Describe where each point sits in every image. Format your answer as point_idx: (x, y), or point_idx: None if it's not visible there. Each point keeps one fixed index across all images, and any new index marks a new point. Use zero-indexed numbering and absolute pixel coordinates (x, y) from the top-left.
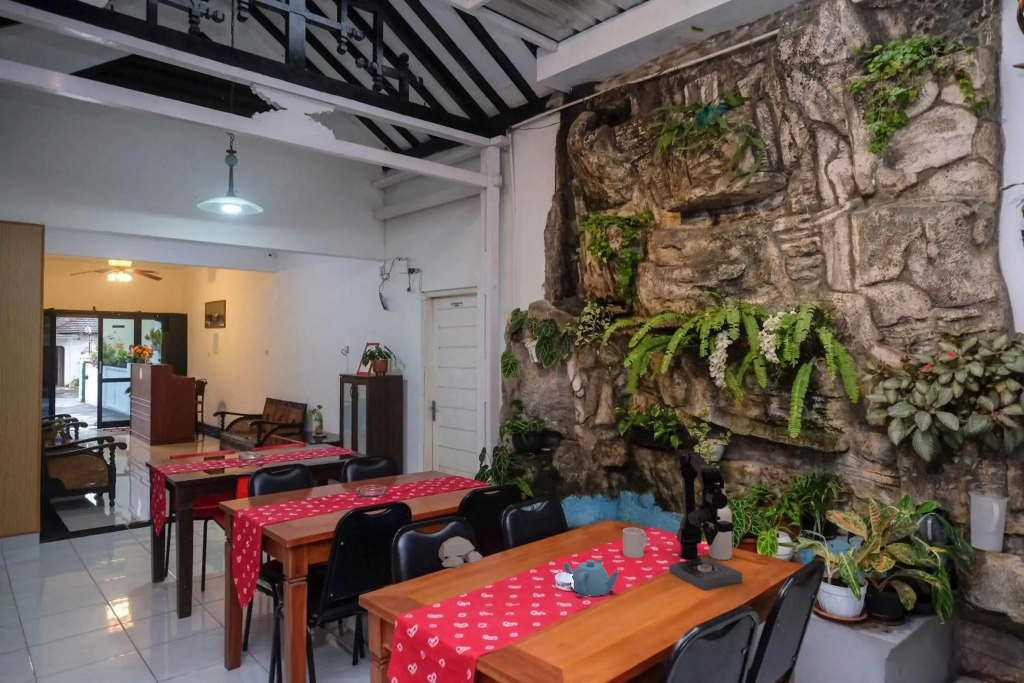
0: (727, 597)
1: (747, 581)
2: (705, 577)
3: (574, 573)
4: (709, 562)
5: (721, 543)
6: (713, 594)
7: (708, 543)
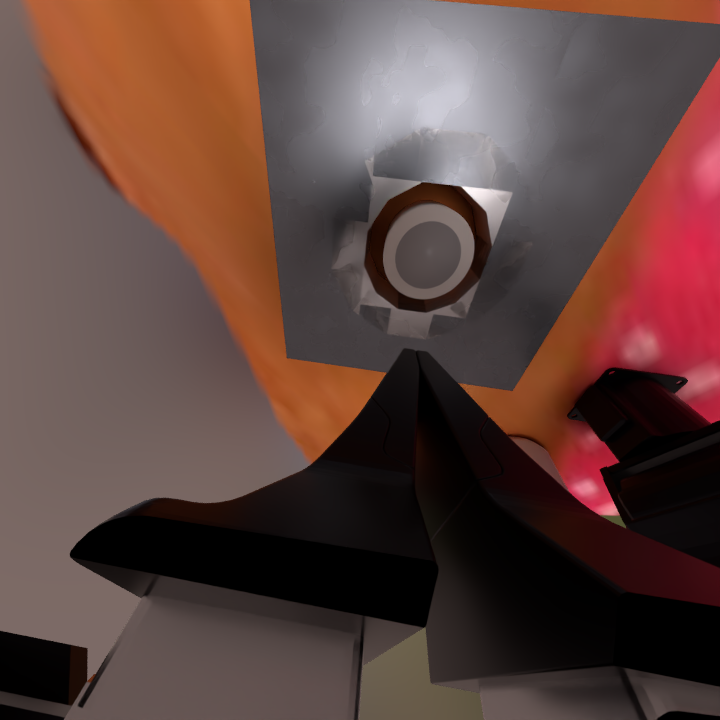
0: (154, 97)
1: None
2: (300, 85)
3: None
4: (462, 350)
5: None
6: (209, 40)
7: (412, 355)
